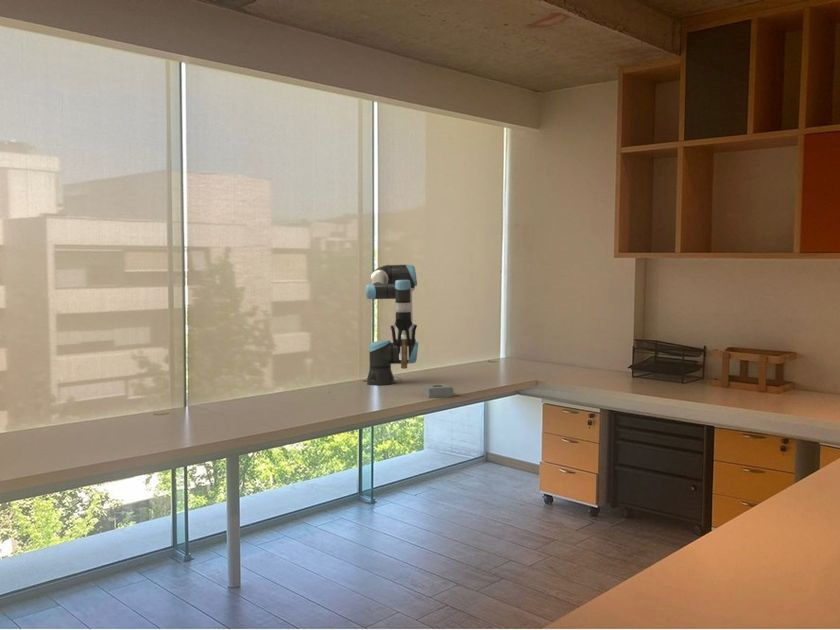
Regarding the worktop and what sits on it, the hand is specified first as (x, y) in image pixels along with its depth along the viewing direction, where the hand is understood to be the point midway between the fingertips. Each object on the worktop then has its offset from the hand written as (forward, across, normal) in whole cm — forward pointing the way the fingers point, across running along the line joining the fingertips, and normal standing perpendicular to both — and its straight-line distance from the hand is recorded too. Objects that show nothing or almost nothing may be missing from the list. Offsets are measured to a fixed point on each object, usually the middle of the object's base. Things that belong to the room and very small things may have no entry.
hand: (404, 359), depth 369 cm
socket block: (+18, +15, -5) cm, 24 cm away
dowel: (+4, 0, 0) cm, 4 cm away
